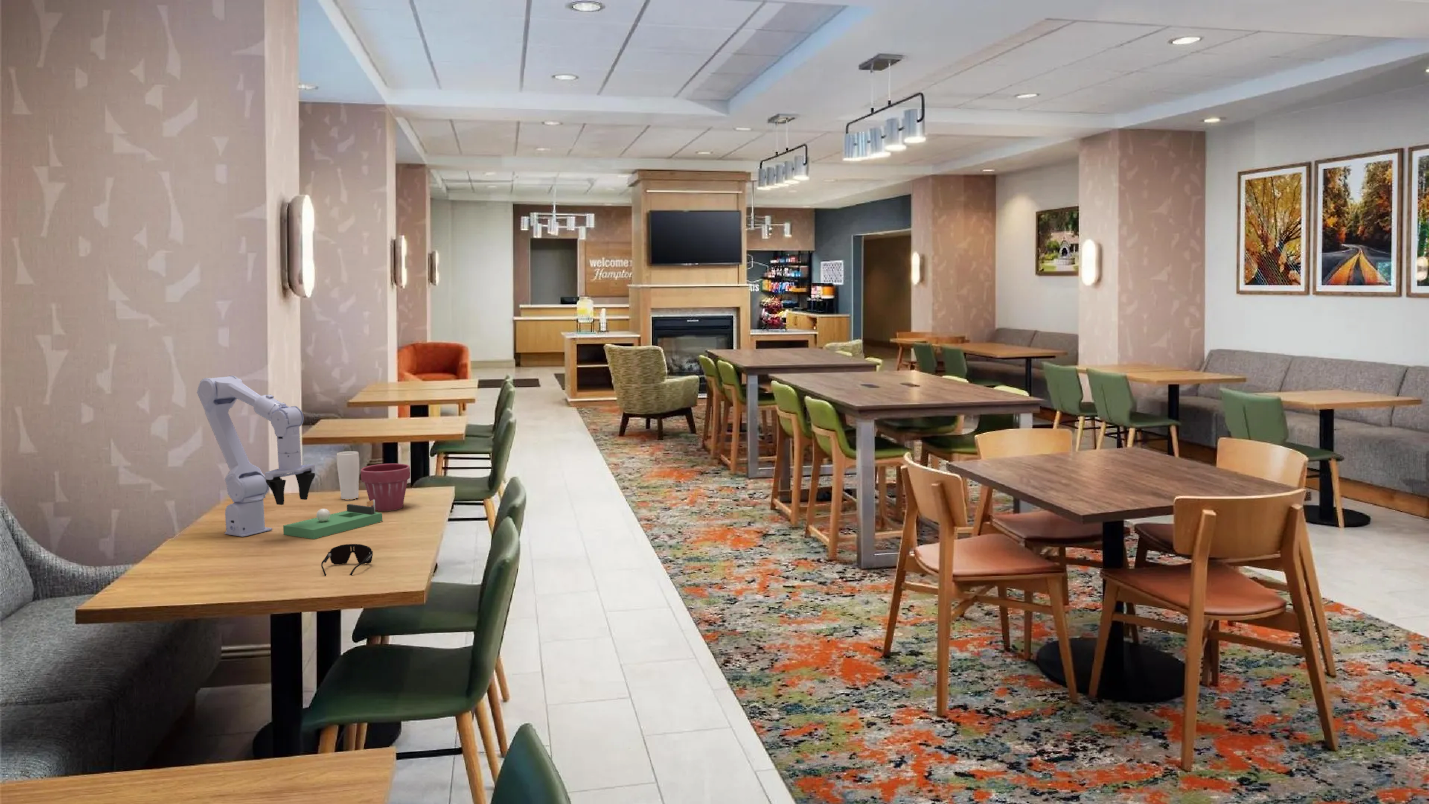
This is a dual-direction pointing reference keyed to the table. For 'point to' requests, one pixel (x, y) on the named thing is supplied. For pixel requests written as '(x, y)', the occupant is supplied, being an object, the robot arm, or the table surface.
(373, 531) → the table surface
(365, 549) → the sunglasses
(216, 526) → the table surface
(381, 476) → the plant pot
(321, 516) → the ball
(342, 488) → the drinking glass
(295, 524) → the green board
